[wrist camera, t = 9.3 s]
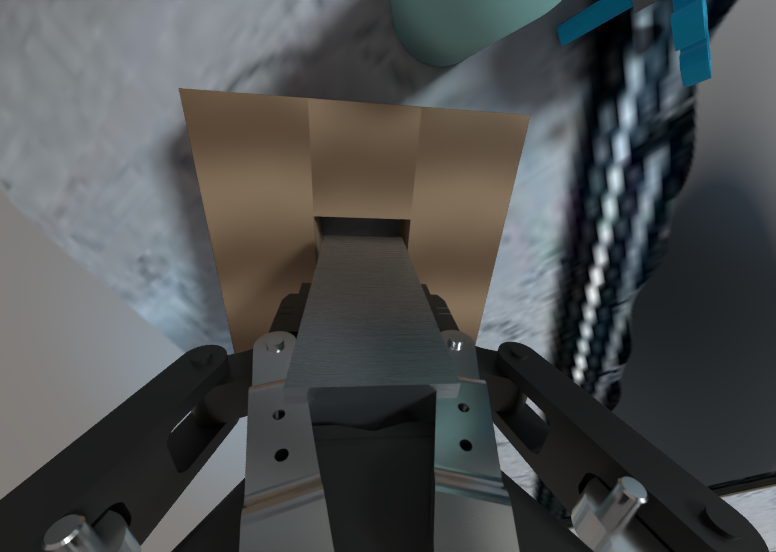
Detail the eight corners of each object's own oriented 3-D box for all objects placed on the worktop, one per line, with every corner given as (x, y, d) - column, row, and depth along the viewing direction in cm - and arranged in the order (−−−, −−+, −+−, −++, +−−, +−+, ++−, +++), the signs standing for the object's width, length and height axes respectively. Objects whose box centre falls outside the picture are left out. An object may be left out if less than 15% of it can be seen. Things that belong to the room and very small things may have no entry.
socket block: (216, 95, 17) (178, 88, 13) (496, 116, 18) (530, 115, 15) (255, 332, 24) (238, 369, 20) (454, 331, 26) (470, 365, 22)
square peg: (324, 235, 16) (283, 388, 7) (402, 237, 16) (460, 383, 7) (326, 302, 17) (296, 493, 8) (396, 302, 18) (437, 484, 9)
